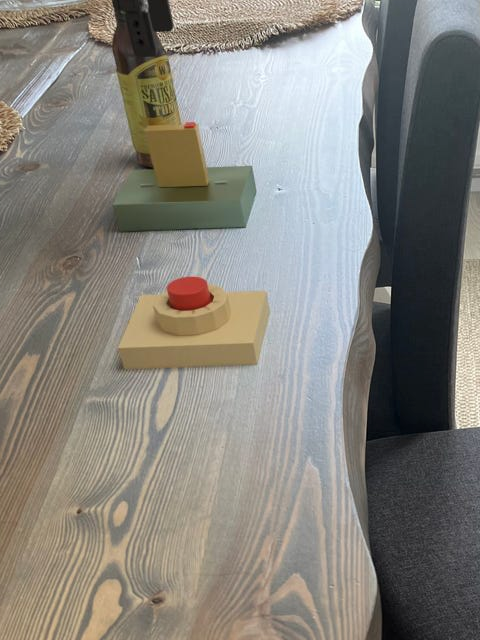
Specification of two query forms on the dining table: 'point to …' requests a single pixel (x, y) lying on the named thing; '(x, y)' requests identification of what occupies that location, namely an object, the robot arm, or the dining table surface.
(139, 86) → the sauce bottle
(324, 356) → the dining table surface
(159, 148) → the handle
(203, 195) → the plate
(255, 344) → the block
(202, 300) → the button
